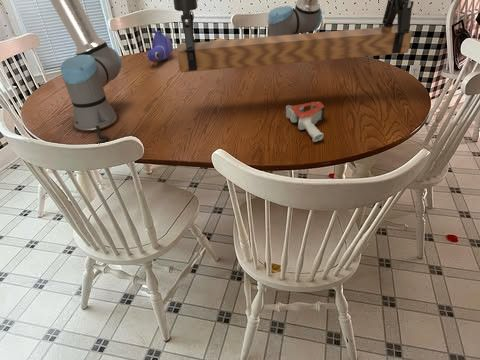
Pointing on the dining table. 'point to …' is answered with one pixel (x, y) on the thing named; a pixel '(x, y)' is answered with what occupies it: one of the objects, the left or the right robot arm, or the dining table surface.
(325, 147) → the dining table surface
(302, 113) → the tape dispenser
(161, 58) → the toy
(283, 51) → the thick board
